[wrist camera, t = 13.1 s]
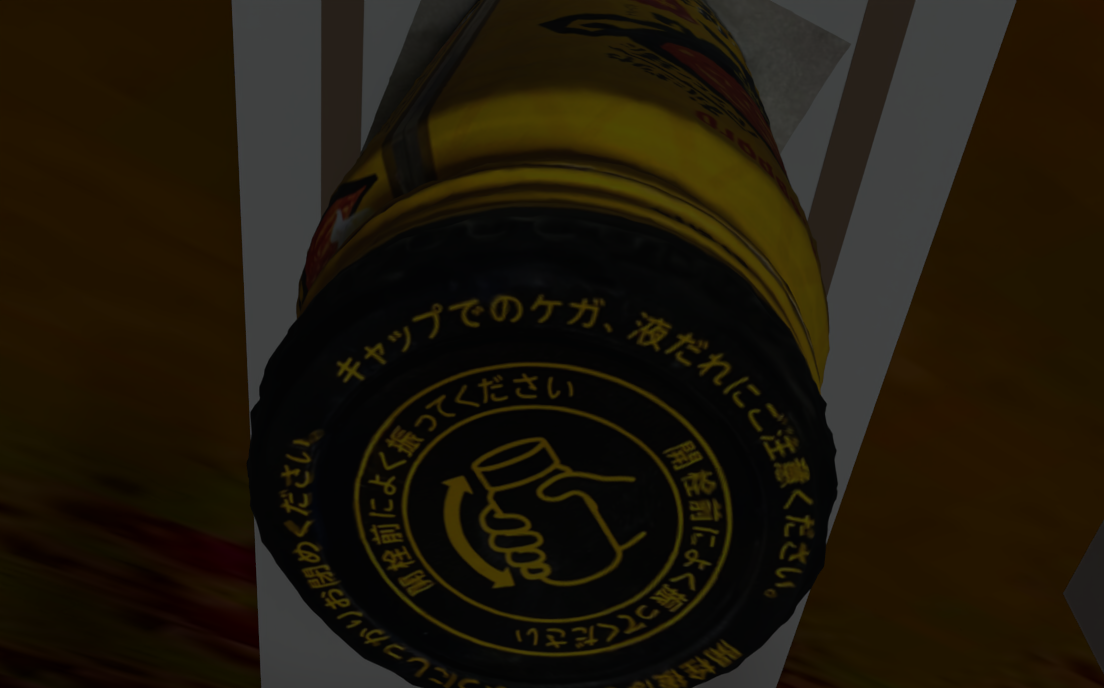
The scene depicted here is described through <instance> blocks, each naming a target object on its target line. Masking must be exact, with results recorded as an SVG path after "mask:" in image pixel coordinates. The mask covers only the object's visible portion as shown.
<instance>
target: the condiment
mask: <svg viewBox="0 0 1104 688" xmlns="http://www.w3.org/2000/svg"><path fill="white" fill-rule="evenodd" d="M850 45H851V43H849V42H847V41H845V40H843V39H841V38H840V37H838V36H836V35H834V34H832V33H830V32H828V31H826V30H824V29H823V28H821V27H819V26H817V25H815V24H813V23H811V22H810V21H808V20H806V19H804V18H802V17H800V16H798V15H796V14H795V13H794V12H792V11H790V10H788V9H786V8H784V7H782V6H780V5H778V4H776V3H774V2H772V1H770V0H421V1H420V4H419V6H418V9H417V11H416V14H415V16H414V19H413V22H412V24H411V26H410V29H409V31H408V34H407V37H406V40H405V42H404V45H403V47H402V50H401V52H400V55H399V57H398V60H397V62H396V65H395V67H394V70H393V72H392V74H391V76H390V78H389V83H388V85H387V88H386V90H385V92H384V95H383V97H382V99H381V102H380V104H379V107H378V109H377V112H376V114H375V118H374V121H373V124H372V126H371V128H370V131H369V134H368V136H367V139H366V141H365V144H364V146H363V148H362V151H361V153H360V157H359V158H358V159H357V161H356V163H355V165H354V166H353V167H352V169H351V170H350V171H349V172H348V173H347V174H346V175H345V176H344V178H343V180H342V182H341V183H340V184H339V185H338V186H337V188H336V190H335V191H334V192H333V194H332V195H331V197H330V201H329V205H328V208H327V209H326V211H325V212H324V214H323V215H322V217H321V220H320V223H319V225H318V227H317V229H316V231H315V233H314V235H313V237H312V240H311V243H310V247H309V249H308V251H307V257H306V263H305V266H304V269H303V271H302V274H301V277H300V280H299V287H298V299H297V303H296V316H297V320H296V321H295V322H294V323H293V324H292V325H291V327H290V328H289V329H288V332H287V335H286V336H285V337H284V339H283V340H282V342H281V343H280V344H279V346H278V347H277V349H276V350H275V351H274V353H273V354H272V356H271V357H270V358H269V360H268V363H267V365H266V367H265V369H264V376H263V379H262V381H261V384H260V386H259V396H260V399H259V401H258V402H257V403H256V404H255V406H254V407H253V409H252V410H251V412H250V419H251V432H252V435H251V441H250V449H249V458H248V461H247V470H248V477H249V488H250V497H251V501H250V506H251V509H252V512H253V514H254V517H255V520H256V522H257V526H258V530H259V533H260V537H261V541H262V543H263V544H264V546H265V547H266V548H267V549H268V551H269V552H270V553H271V555H272V557H273V559H274V560H275V562H276V564H277V565H278V566H279V568H280V569H281V570H282V572H283V573H284V574H285V576H286V577H287V578H288V580H289V581H290V582H291V584H292V585H293V586H294V588H295V589H296V590H297V592H298V593H299V595H300V596H301V598H302V599H303V601H304V602H305V603H306V604H307V605H308V606H309V608H310V609H311V610H312V611H313V612H314V613H315V614H316V615H317V616H319V617H320V618H321V619H322V620H323V622H324V623H325V624H326V625H327V626H328V627H329V628H330V629H331V630H332V631H333V632H334V633H335V634H337V635H338V636H339V637H340V638H341V639H342V640H343V641H344V642H345V643H346V644H348V645H349V646H350V647H351V648H352V649H353V650H354V651H355V652H357V653H358V654H359V655H360V656H361V657H363V658H364V659H366V660H368V661H370V662H372V663H374V664H377V665H379V666H381V667H383V668H385V669H387V670H390V671H392V672H394V673H395V674H397V675H398V676H400V677H401V678H403V679H404V680H405V681H407V682H408V683H410V684H411V685H413V686H417V687H421V688H693V687H695V686H697V685H699V684H702V683H705V682H707V681H709V680H711V679H713V678H715V677H717V676H720V675H722V674H726V673H729V672H731V671H733V670H734V669H736V668H738V667H739V666H740V665H741V663H742V662H743V661H744V660H745V659H746V658H748V657H749V656H750V655H752V654H753V653H754V652H756V651H757V650H758V649H760V648H761V647H762V646H763V645H764V644H765V643H766V642H767V641H768V640H769V639H770V637H771V636H772V635H773V634H774V633H775V632H776V631H777V630H778V629H779V628H780V627H781V626H782V625H783V624H785V623H786V622H787V621H788V620H789V619H790V618H791V616H792V615H793V614H794V612H795V609H796V606H797V605H798V603H799V602H800V601H801V600H802V599H803V597H804V596H805V595H806V594H807V593H808V591H809V590H810V589H811V587H812V586H813V584H814V582H815V580H816V578H817V576H818V574H819V573H820V571H821V570H822V568H823V567H824V561H825V551H826V539H827V534H828V521H829V517H830V514H831V512H832V508H833V505H834V502H835V500H836V499H837V494H838V490H837V486H838V480H837V473H836V467H835V456H836V452H837V450H836V447H835V444H834V440H833V433H832V432H831V430H830V428H829V427H828V425H827V422H826V416H825V412H826V407H827V403H826V402H825V400H824V399H823V397H822V396H821V386H822V384H823V378H824V370H825V365H826V361H827V356H828V354H829V351H830V346H829V312H828V302H827V297H826V292H825V288H824V284H823V280H822V277H821V264H820V260H819V256H818V251H817V242H816V240H815V239H814V238H813V237H812V234H811V231H810V228H809V225H808V222H807V219H806V216H805V213H804V210H803V209H802V207H801V205H800V202H799V199H798V196H797V195H796V193H795V192H794V190H793V189H792V187H791V184H790V182H789V179H788V176H787V172H786V170H785V167H784V163H783V161H782V158H781V156H780V154H781V152H782V150H783V149H784V147H785V145H786V144H787V142H788V140H789V139H790V137H791V135H792V134H793V132H794V131H795V129H796V128H797V126H798V124H799V123H800V122H801V120H802V119H803V117H804V116H805V115H806V113H807V111H808V110H809V108H810V106H811V105H812V103H813V101H814V99H815V97H816V96H817V94H818V93H819V91H820V90H821V88H822V87H823V85H824V83H825V82H826V80H827V79H828V77H829V76H830V74H831V73H832V71H833V70H834V68H835V67H836V65H837V63H838V62H839V61H840V59H841V58H842V56H843V55H844V54H845V52H846V51H847V50H848V49H849V47H850Z"/></svg>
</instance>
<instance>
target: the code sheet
mask: <svg viewBox="0 0 1104 688" xmlns="http://www.w3.org/2000/svg"><path fill="white" fill-rule="evenodd" d="M420 1H421V0H232V17H233V40H234V63H235V87H236V110H237V133H238V156H239V179H240V203H241V226H242V249H243V272H244V295H245V318H246V342H247V365H248V388H249V411H250V412H251V410H252V409H253V407H254V406H255V404H256V403H257V402H258V401H259V399H260V396H259V386H260V384H261V381H262V379H263V376H264V369H265V367H266V365H267V363H268V360H269V358H270V357H271V356H272V354H273V353H274V351H275V350H276V349H277V347H278V346H279V344H280V343H281V342H282V340H283V339H284V337H285V336H286V335H287V332H288V329H289V328H290V327H291V325H292V324H293V323H294V322H295V321H296V320H297V316H296V303H297V299H298V287H299V280H300V277H301V274H302V271H303V269H304V266H305V263H306V257H307V251H308V249H309V247H310V243H311V240H312V237H313V235H314V233H315V231H316V229H317V227H318V225H319V223H320V220H321V217H322V215H323V214H324V212H325V211H326V209H327V208H328V205H329V201H330V197H331V195H332V194H333V192H334V191H335V190H336V188H337V186H338V185H339V184H340V183H341V182H342V180H343V178H344V176H345V175H346V174H347V173H348V172H349V171H350V170H351V169H352V167H353V166H354V165H355V163H356V161H357V159H358V158H359V157H360V153H361V151H362V148H363V146H364V144H365V141H366V139H367V136H368V134H369V131H370V128H371V126H372V124H373V121H374V118H375V114H376V112H377V109H378V107H379V104H380V102H381V99H382V97H383V95H384V92H385V90H386V88H387V85H388V83H389V78H390V76H391V74H392V72H393V70H394V67H395V65H396V62H397V60H398V57H399V55H400V52H401V50H402V47H403V45H404V42H405V40H406V37H407V34H408V31H409V29H410V26H411V24H412V22H413V19H414V16H415V14H416V11H417V9H418V6H419V4H420ZM770 1H772V2H774V3H776V4H778V5H780V6H782V7H784V8H786V9H788V10H790V11H792V12H794V13H795V14H796V15H798V16H800V17H802V18H804V19H806V20H808V21H810V22H811V23H813V24H815V25H817V26H819V27H821V28H823V29H824V30H826V31H828V32H830V33H832V34H834V35H836V36H838V37H840V38H841V39H843V40H845V41H847V42H849V43H851V45H850V47H849V49H848V50H847V51H846V52H845V54H844V55H843V56H842V58H841V59H840V61H839V62H838V63H837V65H836V67H835V68H834V70H833V71H832V73H831V74H830V76H829V77H828V79H827V80H826V82H825V83H824V85H823V87H822V88H821V90H820V91H819V93H818V94H817V96H816V97H815V99H814V101H813V103H812V105H811V106H810V108H809V110H808V111H807V113H806V115H805V116H804V117H803V119H802V120H801V122H800V123H799V124H798V126H797V128H796V129H795V131H794V132H793V134H792V135H791V137H790V139H789V140H788V142H787V144H786V145H785V147H784V149H783V150H782V152H781V154H780V156H781V158H782V161H783V163H784V167H785V170H786V172H787V176H788V179H789V182H790V184H791V187H792V189H793V190H794V192H795V193H796V195H797V196H798V199H799V202H800V205H801V207H802V209H803V210H804V213H805V216H806V219H807V222H808V225H809V228H810V231H811V234H812V237H813V238H814V239H815V240H816V242H817V251H818V256H819V260H820V264H821V277H822V280H823V284H824V288H825V292H826V297H827V302H828V312H829V346H830V351H829V354H828V356H827V361H826V365H825V370H824V378H823V384H822V386H821V396H822V397H823V399H824V400H825V402H826V403H827V407H826V412H825V416H826V422H827V425H828V427H829V428H830V430H831V432H832V433H833V440H834V444H835V447H836V450H837V452H836V456H835V467H836V473H837V480H838V486H837V490H838V494H837V499H836V500H835V502H834V505H833V508H832V512H831V514H830V517H829V521H828V534H827V539H826V543H827V540H828V537H829V534H830V532H831V529H832V526H833V523H834V520H835V517H836V514H837V512H838V509H839V506H840V503H841V500H842V497H843V494H844V492H845V489H846V486H847V483H848V480H849V477H850V474H851V472H852V469H853V466H854V463H855V460H856V457H857V454H858V452H859V449H860V446H861V443H862V440H863V437H864V434H865V432H866V429H867V426H868V423H869V420H870V417H871V414H872V412H873V409H874V406H875V403H876V400H877V397H878V394H879V392H880V389H881V386H882V383H883V380H884V377H885V374H886V371H887V369H888V366H889V363H890V360H891V357H892V354H893V351H894V349H895V346H896V343H897V340H898V337H899V334H900V331H901V329H902V326H903V323H904V320H905V317H906V314H907V311H908V309H909V306H910V303H911V300H912V297H913V294H914V291H915V289H916V286H917V283H918V280H919V277H920V274H921V271H922V269H923V266H924V263H925V260H926V257H927V254H928V251H929V249H930V246H931V243H932V240H933V237H934V234H935V231H936V229H937V226H938V223H939V220H940V217H941V214H942V211H943V209H944V206H945V203H946V200H947V197H948V194H949V191H950V189H951V186H952V183H953V180H954V177H955V174H956V171H957V169H958V166H959V163H960V160H961V157H962V154H963V151H964V149H965V146H966V143H967V140H968V137H969V134H970V131H971V129H972V126H973V123H974V120H975V117H976V114H977V111H978V109H979V106H980V103H981V100H982V97H983V94H984V91H985V89H986V86H987V83H988V80H989V77H990V74H991V71H992V69H993V66H994V63H995V60H996V57H997V54H998V51H999V49H1000V46H1001V43H1002V40H1003V37H1004V34H1005V31H1006V29H1007V26H1008V23H1009V20H1010V17H1011V14H1012V11H1013V9H1014V6H1015V3H1016V0H770ZM250 434H251V435H252V432H251V419H250ZM254 527H255V550H256V573H257V597H258V620H259V643H260V666H261V688H421V687H417V686H413V685H411V684H410V683H408V682H407V681H405V680H404V679H403V678H401V677H400V676H398V675H397V674H395V673H394V672H392V671H390V670H387V669H385V668H383V667H381V666H379V665H377V664H374V663H372V662H370V661H368V660H366V659H364V658H363V657H361V656H360V655H359V654H358V653H357V652H355V651H354V650H353V649H352V648H351V647H350V646H349V645H348V644H346V643H345V642H344V641H343V640H342V639H341V638H340V637H339V636H338V635H337V634H335V633H334V632H333V631H332V630H331V629H330V628H329V627H328V626H327V625H326V624H325V623H324V622H323V620H322V619H321V618H320V617H319V616H317V615H316V614H315V613H314V612H313V611H312V610H311V609H310V608H309V606H308V605H307V604H306V603H305V602H304V601H303V599H302V598H301V596H300V595H299V593H298V592H297V590H296V589H295V588H294V586H293V585H292V584H291V582H290V581H289V580H288V578H287V577H286V576H285V574H284V573H283V572H282V570H281V569H280V568H279V566H278V565H277V564H276V562H275V560H274V559H273V557H272V555H271V553H270V552H269V551H268V549H267V548H266V547H265V546H264V544H263V543H262V541H261V537H260V533H259V530H258V526H257V522H256V520H255V517H254ZM809 592H810V590H809V591H808V593H807V594H806V595H805V596H804V597H803V599H802V600H801V601H800V602H799V603H798V605H797V606H796V609H795V612H794V614H793V615H792V616H791V618H790V619H789V620H788V621H787V622H786V623H785V624H783V625H782V626H781V627H780V628H779V629H778V630H777V631H776V632H775V633H774V634H773V635H772V636H771V637H770V639H769V640H768V641H767V642H766V643H765V644H764V645H763V646H762V647H761V648H760V649H758V650H757V651H756V652H754V653H753V654H752V655H750V656H749V657H748V658H746V659H745V660H744V661H743V662H742V663H741V665H740V666H739V667H738V668H736V669H734V670H733V671H731V672H729V673H726V674H722V675H720V676H717V677H715V678H713V679H711V680H709V681H707V682H705V683H702V684H699V685H697V686H695V687H693V688H776V686H777V683H778V680H779V677H780V674H781V672H782V669H783V666H784V663H785V660H786V657H787V654H788V652H789V649H790V646H791V643H792V640H793V637H794V634H795V632H796V629H797V626H798V623H799V620H800V617H801V614H802V612H803V609H804V606H805V603H806V600H807V597H808V594H809Z"/></svg>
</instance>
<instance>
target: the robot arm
mask: <svg viewBox="0 0 1104 688" xmlns="http://www.w3.org/2000/svg"><path fill="white" fill-rule="evenodd" d="M1063 594H1064V596H1065V598H1066V600H1067V602H1068V604H1069V606H1070V608H1071V610H1072V612H1073V614H1074V616H1075V618H1076V620H1077V622H1078V624H1079V626H1080V628H1081V630H1082V632H1083V634H1084V636H1085V638H1086V640H1087V642H1088V644H1089V646H1090V648H1091V650H1092V652H1093V654H1094V656H1095V658H1096V660H1097V662H1098V664H1099V665H1100V667H1101V669H1102V671H1103V673H1104V520H1103V522H1102V524H1101V526H1100V528H1099V530H1098V531H1097V533H1096V535H1095V537H1094V539H1093V540H1092V542H1091V544H1090V546H1089V548H1088V550H1087V551H1086V553H1085V555H1084V557H1083V559H1082V560H1081V562H1080V564H1079V566H1078V568H1077V570H1076V571H1075V573H1074V575H1073V577H1072V579H1071V580H1070V582H1069V584H1068V586H1067V588H1066V590H1065V591H1064V593H1063Z"/></svg>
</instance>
